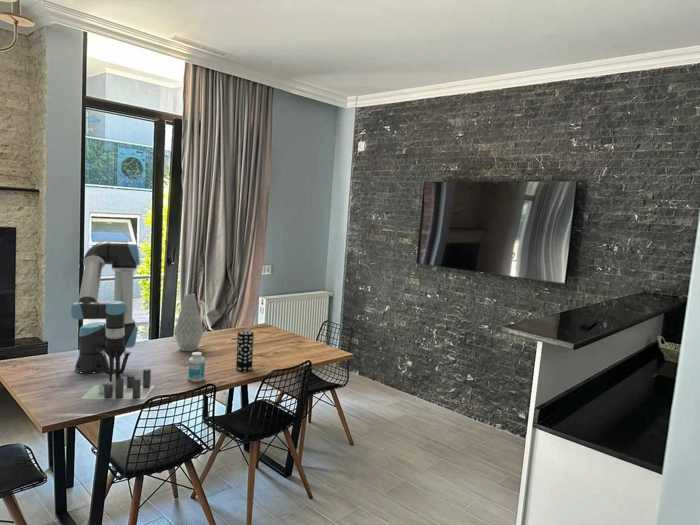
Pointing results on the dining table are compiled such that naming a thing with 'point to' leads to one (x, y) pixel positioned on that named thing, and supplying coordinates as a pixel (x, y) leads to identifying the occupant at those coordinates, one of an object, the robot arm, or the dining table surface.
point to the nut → (101, 388)
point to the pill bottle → (196, 367)
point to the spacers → (128, 385)
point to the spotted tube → (244, 351)
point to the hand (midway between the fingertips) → (114, 388)
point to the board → (127, 394)
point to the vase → (188, 325)
